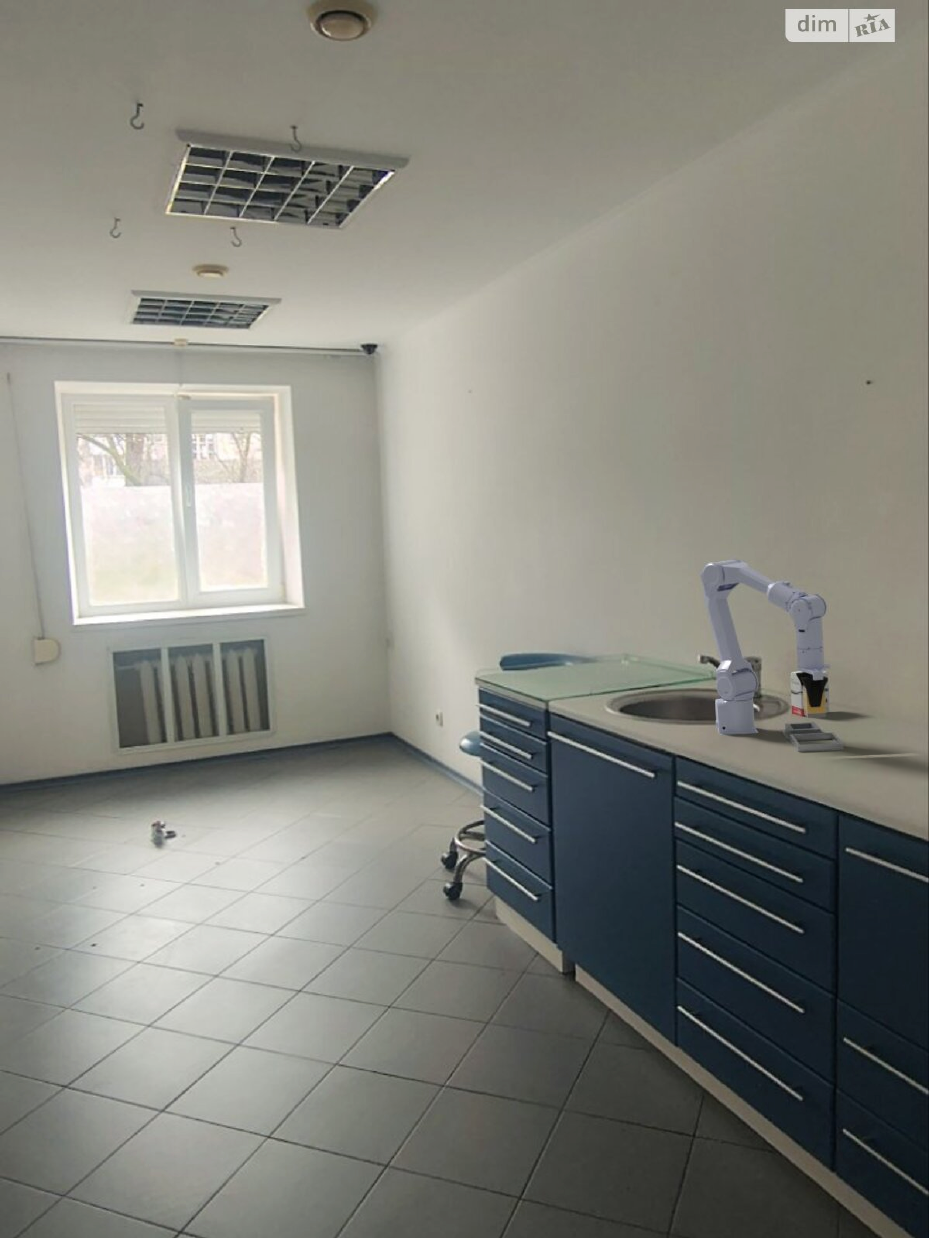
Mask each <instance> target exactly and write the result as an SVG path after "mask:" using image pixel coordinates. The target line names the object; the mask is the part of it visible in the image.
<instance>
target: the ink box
mask: <svg viewBox="0 0 929 1238" xmlns="http://www.w3.org/2000/svg"><path fill="white" fill-rule="evenodd" d="M801 672H802V671H799V670H796V671H792V672H790V697H791V698H790V700H791V701H790V703H791V714H792V715H796V716H800V717H806V715H805V714H804V700H803V689H802V686H801V683H800V681H799V679H798V677H797V675H796V673H801ZM823 677H827V678H828V679H829V672H828V671H825V670H824V671H823ZM829 687H830V685H829V681H828V682H827V683H826V685H825V707H826V714H828V713H830V691H829V690H830V689H829Z"/></svg>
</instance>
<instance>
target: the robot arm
mask: <svg viewBox="0 0 929 1238" xmlns="http://www.w3.org/2000/svg"><path fill="white" fill-rule="evenodd" d="M700 579H701V583H702V586H703V590H702V597H703V602H704V605H705V610H706V614H707V617H708V619H709V623H710V627H711V631H712V635H713V639H714V642H715V646H716V649H717V653H718V654H717V655H718V658H719V661H720V664H719V665H718V667H717V668H716V671H715V672H714V674H715V677H716V682H715V687H716V691H717V694H719V696H720V697H721V698H716V699H715V701H714V702H715V704H714V705H715V719H716V720H715V727H716V729H717V732H718V734H719V735H721V736H722V735H725V736H726V735H740V734H741V735H742V734H743V735H744V734H746V735H747V734H758V733H759V731H758V730H757V727H756V725H755V710H754V709H755V708H754V696H755V692H756V691H757V690H758V689H759V684H760V683H759V678H758V675H757V674H756V672H755V671H754V669H753V667H752V664H751V662H749V661H748V660H747V659H745V658H744V657H743V655H742V651H741V647H740V643H739V639H738V636H737V633H736V629H735V625H734V621H733V618H732V615H731V614H732V613H731V610H730V606H729V604H728V600H727V599H728V598H729V596H730V593H731V592H732V591H733V590H734V589H736V588H737V586H739V585H740V584H743V585H745V586H747V587H750V588H751V589H753V590H756V591H758V592H760V593H763V594H765V595H766V597H767V601H768V602H769V603H771V604H773V605H774V606H777V607H778V608H781V609H782V610H783V611H786V612H787V613H789V616H790V618H791V619H792V621H793V626H794V627H795V634H796V635H795V636H796V639H795V640H796V652H797V653H796V654H797V656H796V657H797V666H796V667H797V668H796V669H797V670H796V671H802V672H801V673H796V675H797V677H798V679H799V681H800V683H801V686H802V689H803V685H805V688H806V691H807V695H808V700H809V704H810V706H811V707H820V706H821V701H822V695H823V691H824V688H825V685H826V683H827V682H828V683H829V677H828V678H827V677H823V671H825V670H826V669H830V668H831V666H830V664H828V663H825V654H824V653H825V652H824V634H823V633H824V632H823V618H822V617H824V616H825V614H826V613H827V609H828V608H827V607H828V606H827V603H826V601H825V599H824V597H822V596H821V595H819V594H818V593H811V594H808V593H807V591H806V590H804V589H799V588H796V587H794V586H793V585H791V582H790V581H788V580H777V581H776V582H775V581H773V580H772V579H770V578H768V577H766V576H764V575H763V574H762V573H760V572H759V571H757V570H755V569H753V568H752V567H750V566H749V564H748V563H747V562H745V561H742V560H740V559H739V558H732V559H728V560H722V561H716V562H714V561H713V562H708V563H706V564H705V566H704V567H703V569H702V571H701V572H700ZM759 734H760V733H759Z"/></svg>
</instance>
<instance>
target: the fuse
mask: <svg viewBox="0 0 929 1238" xmlns="http://www.w3.org/2000/svg"><path fill="white" fill-rule="evenodd" d="M803 700H804V714H805V715H806V716H805V717H806V718H808V719H813V718H816V719H817V718H818V719H819V718H826V717H827V713H826V707H825V688H824V691H823V695H822V701H821V706H820V707H811V706H810V704H809V700H808V695H807V691H806V688H805V685H803Z"/></svg>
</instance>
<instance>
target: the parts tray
mask: <svg viewBox="0 0 929 1238" xmlns="http://www.w3.org/2000/svg"><path fill="white" fill-rule="evenodd" d="M816 740H817V741H821V740H832V741H833V742H834V743H833V742H832V743H831V742H830V743H816V744H815V743H814V744H813V743H811V744H800V743H799V742H800V741H816ZM789 741H790V743H791V744H792V745H793V747H794V748H795V750H796V751H797V752H798V753H803V752H827V751H845V743H844V742H843V741H842V740H841V739H840V738H839V737H838V736H837V734H836V733H835V732H822V733H809V734H790V739H789ZM798 741H799V742H798Z"/></svg>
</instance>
